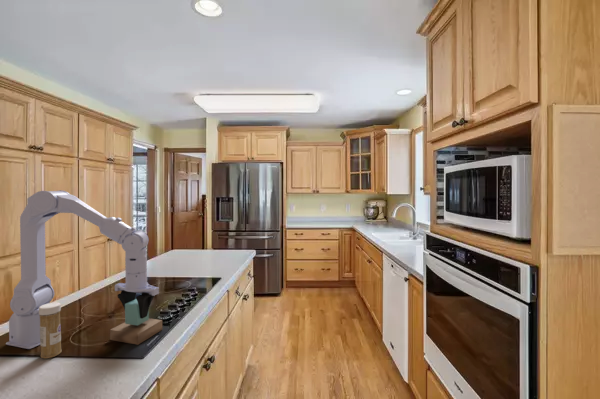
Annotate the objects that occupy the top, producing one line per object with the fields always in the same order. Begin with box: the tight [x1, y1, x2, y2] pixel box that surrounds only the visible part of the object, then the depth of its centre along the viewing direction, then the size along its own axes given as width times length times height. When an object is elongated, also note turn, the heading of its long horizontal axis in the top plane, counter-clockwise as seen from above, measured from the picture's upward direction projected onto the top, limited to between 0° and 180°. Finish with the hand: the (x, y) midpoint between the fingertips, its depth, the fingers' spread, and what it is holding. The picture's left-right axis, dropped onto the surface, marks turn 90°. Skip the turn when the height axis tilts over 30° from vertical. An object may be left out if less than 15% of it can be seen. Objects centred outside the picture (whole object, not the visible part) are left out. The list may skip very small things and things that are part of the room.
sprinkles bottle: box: [39, 302, 62, 359], centre depth 85 cm, size 5×5×14 cm
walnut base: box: [109, 317, 163, 346], centre depth 97 cm, size 10×10×3 cm
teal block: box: [124, 298, 150, 326], centre depth 96 cm, size 4×4×6 cm
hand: (136, 316), depth 96 cm, fingers closed on teal block, 4 cm apart
